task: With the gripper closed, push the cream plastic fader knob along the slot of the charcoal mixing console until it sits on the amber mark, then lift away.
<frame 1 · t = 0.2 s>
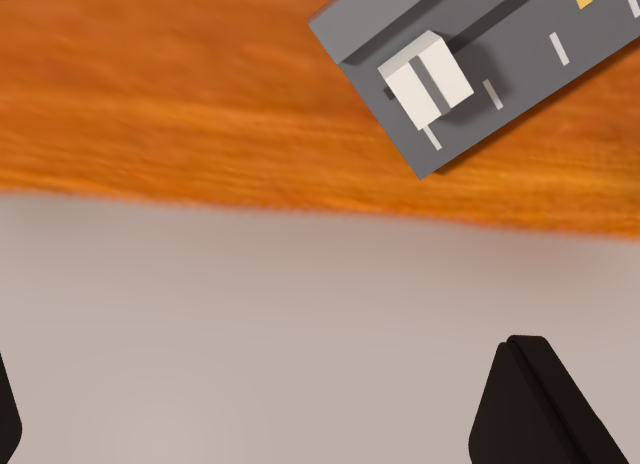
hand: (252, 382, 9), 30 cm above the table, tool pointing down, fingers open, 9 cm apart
console: (483, 11, 34), on the table
fader knob: (423, 80, 32), point 5 cm above the table, slide at 6.0 cm
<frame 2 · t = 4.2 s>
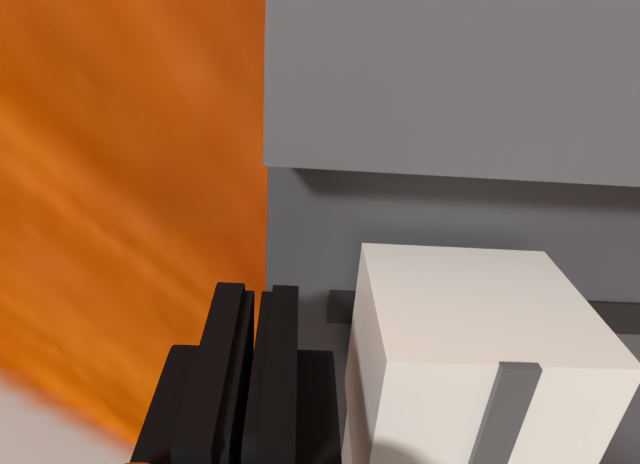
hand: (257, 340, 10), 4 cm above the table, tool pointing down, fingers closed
console: (611, 265, 14), on the table
fader knob: (459, 379, 10), point 5 cm above the table, slide at 5.9 cm, touching gripper
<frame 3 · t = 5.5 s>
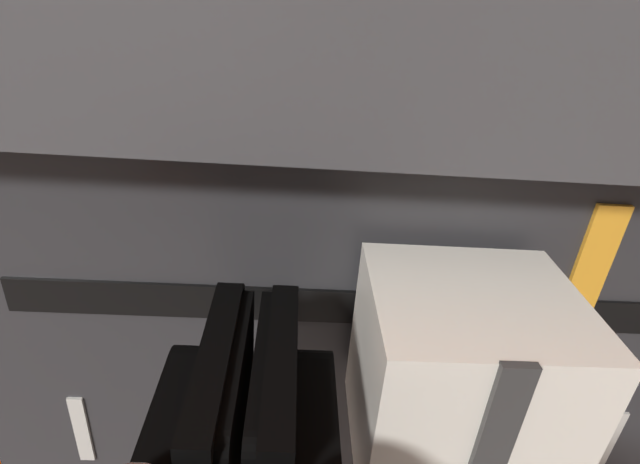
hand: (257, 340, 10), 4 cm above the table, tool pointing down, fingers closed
console: (360, 253, 14), on the table
fader knob: (459, 378, 10), point 5 cm above the table, slide at -1.5 cm, touching gripper
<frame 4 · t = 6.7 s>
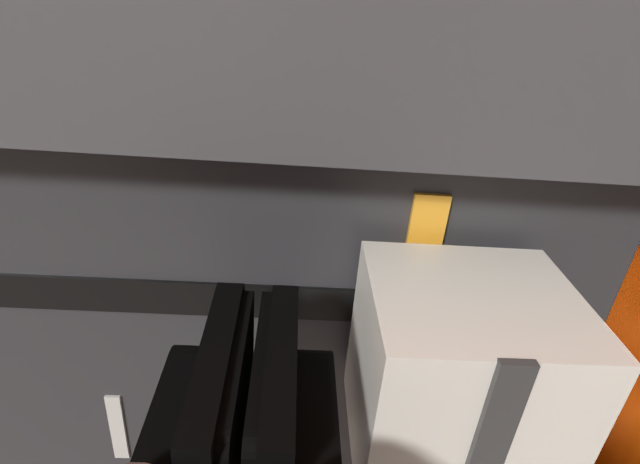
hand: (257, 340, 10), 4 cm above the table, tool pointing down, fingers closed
console: (219, 245, 14), on the table
fader knob: (458, 376, 10), point 5 cm above the table, slide at -5.5 cm, touching gripper
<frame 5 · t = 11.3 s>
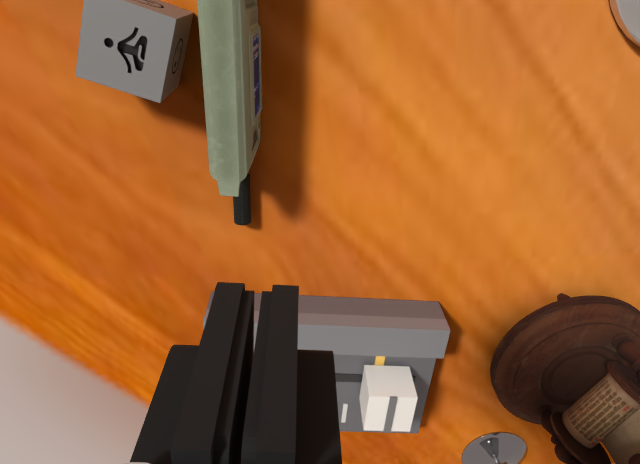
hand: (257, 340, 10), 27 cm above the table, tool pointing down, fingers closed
console: (320, 357, 46), on the table
wine glass: (493, 453, 54), on the table
dice cube: (149, 37, 33), on the table
handheld radio: (238, 51, 34), on the table
scroll: (561, 348, 47), on the table
fader knob: (386, 398, 42), point 5 cm above the table, slide at -5.6 cm
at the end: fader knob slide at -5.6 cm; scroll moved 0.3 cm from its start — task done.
